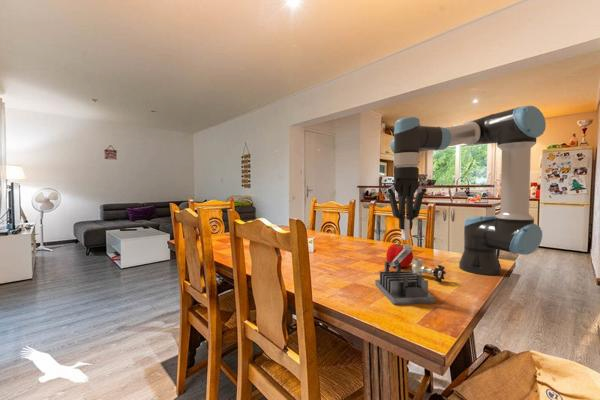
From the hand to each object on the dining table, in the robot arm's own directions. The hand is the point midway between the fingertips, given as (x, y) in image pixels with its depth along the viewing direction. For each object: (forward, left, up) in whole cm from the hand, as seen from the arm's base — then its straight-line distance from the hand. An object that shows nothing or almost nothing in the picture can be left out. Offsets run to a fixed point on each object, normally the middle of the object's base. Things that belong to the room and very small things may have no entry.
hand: (405, 239), depth 92 cm
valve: (-16, -17, -19) cm, 30 cm away
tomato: (-12, -33, -19) cm, 40 cm away
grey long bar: (0, -4, -8) cm, 9 cm away
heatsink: (0, -2, -19) cm, 19 cm away
